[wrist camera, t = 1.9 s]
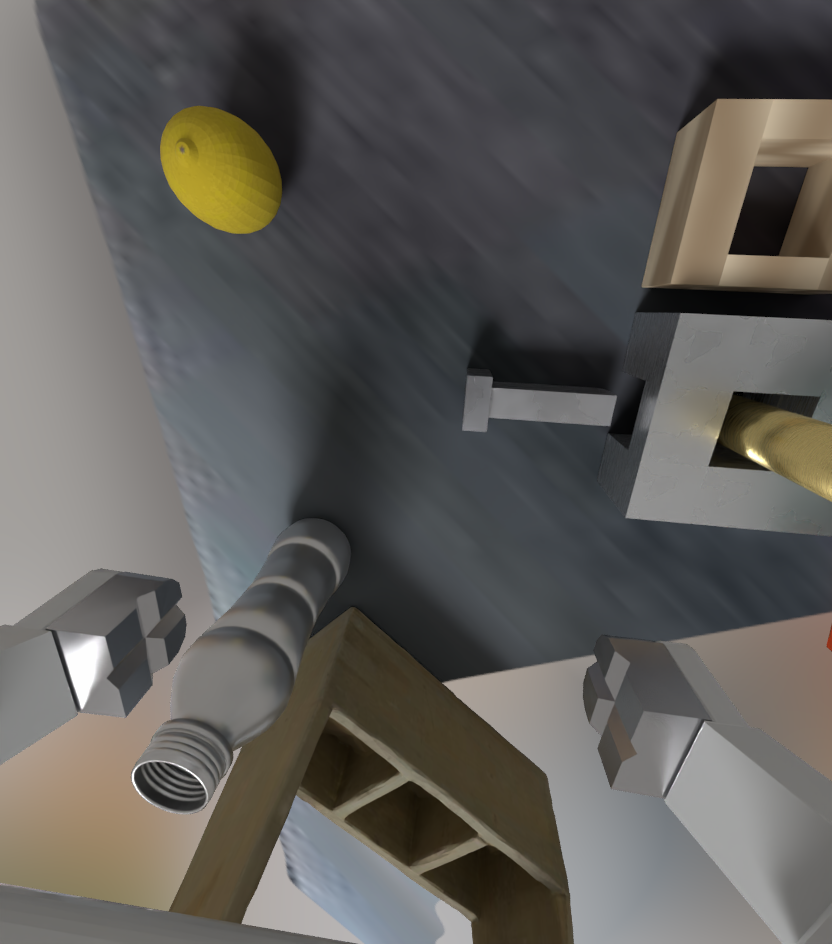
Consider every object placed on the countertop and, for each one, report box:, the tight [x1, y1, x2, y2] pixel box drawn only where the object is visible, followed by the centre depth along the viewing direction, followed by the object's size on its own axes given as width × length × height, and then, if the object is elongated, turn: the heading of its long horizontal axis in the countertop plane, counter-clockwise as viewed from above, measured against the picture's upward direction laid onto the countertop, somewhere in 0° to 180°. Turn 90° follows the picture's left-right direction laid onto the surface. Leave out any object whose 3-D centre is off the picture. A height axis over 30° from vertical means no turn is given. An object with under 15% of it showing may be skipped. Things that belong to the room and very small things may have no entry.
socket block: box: [597, 312, 832, 536], centre depth 26 cm, size 12×12×6 cm
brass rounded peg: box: [717, 394, 832, 502], centre depth 22 cm, size 3×3×13 cm
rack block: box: [642, 99, 832, 295], centre depth 22 cm, size 10×8×4 cm
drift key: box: [462, 368, 617, 432], centre depth 28 cm, size 10×4×4 cm, turn 88°
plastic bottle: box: [131, 518, 351, 814], centre depth 27 cm, size 6×7×20 cm
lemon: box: [160, 106, 282, 234], centre depth 23 cm, size 6×6×8 cm
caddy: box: [169, 607, 574, 944], centre depth 29 cm, size 29×11×30 cm, turn 44°
